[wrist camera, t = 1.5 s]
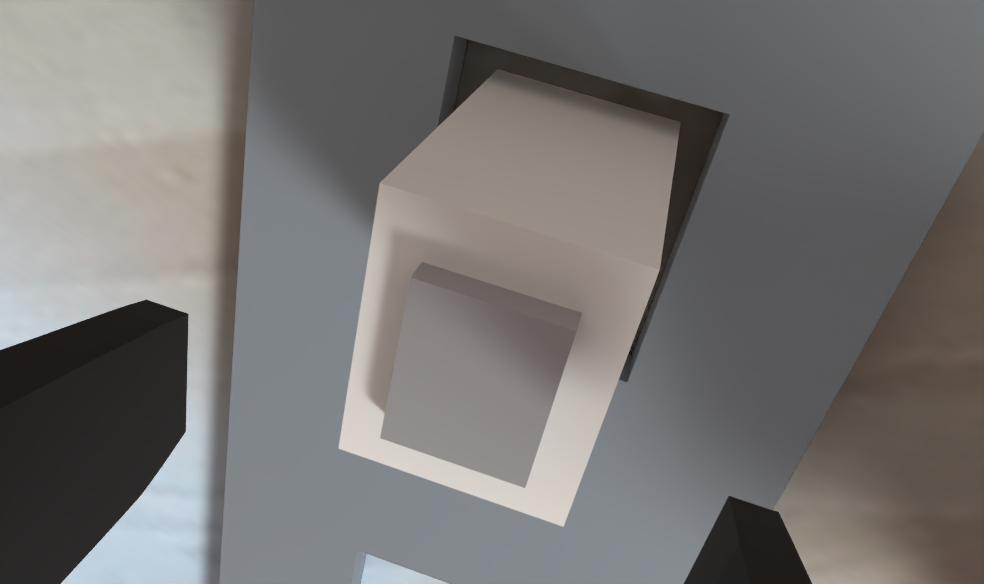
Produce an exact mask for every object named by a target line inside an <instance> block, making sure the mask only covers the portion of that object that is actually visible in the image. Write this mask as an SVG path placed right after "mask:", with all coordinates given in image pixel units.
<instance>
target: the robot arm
mask: <svg viewBox="0 0 984 584" xmlns="http://www.w3.org/2000/svg"><path fill="white" fill-rule="evenodd" d="M187 349H188V314H187V313H184V312H181V311H178V310H175V309H172V308H169V307H166V306H163V305H160V304H157V303H154V302H151V301H148V300H144V301H141V302H137V303H134V304H131V305H127V306H124V307H121V308H118V309H115V310H112V311H109V312H107V313H104V314H101V315H98V316H95V317H92V318H90V319H87V320H84V321H81V322H78V323H76V324H73V325H70V326H67V327H64V328H62V329H59V330H56V331H53V332H51V333H48V334H45V335H42V336H39V337H37V338H34V339H31V340H28V341H25V342H22V343H20V344H17V345H14V346H11V347H8V348H5V349H3V350H0V584H61V582H62V581H63V580H64V579H65V578H66V577H67V576H68V575H69V574H70V573H71V572H72V571H73V569H74V568H75V567H76V566H77V565H78V564H79V563H80V562H81V561H82V560H83V559H84V558H85V556H86V555H87V554H88V553H89V552H90V551H91V550H92V549H93V548H94V547H95V546H96V544H97V543H98V542H99V541H100V540H101V539H102V538H103V537H104V536H105V535H106V533H107V532H108V531H109V530H110V529H111V528H112V527H113V526H114V525H115V524H116V522H117V521H118V520H119V519H120V518H121V517H122V516H123V515H124V514H125V512H126V511H127V510H128V509H129V508H130V507H131V506H132V505H133V504H134V502H135V501H136V500H137V499H138V498H139V497H140V496H141V494H142V493H143V492H144V490H145V489H146V488H147V486H148V485H149V484H150V482H151V481H152V479H153V478H154V477H155V475H156V474H157V473H158V471H159V470H160V468H161V467H162V466H163V464H164V463H165V461H166V460H167V458H168V457H169V455H170V454H171V452H172V451H173V449H174V448H175V446H176V445H177V444H178V442H179V441H180V439H181V438H182V436H183V435H184V433H185V432H186V392H187ZM684 584H812V582H811V580H810V578H809V576H808V574H807V572H806V570H805V567H804V565H803V563H802V561H801V559H800V557H799V554H798V552H797V550H796V548H795V546H794V544H793V541H792V539H791V537H790V535H789V533H788V531H787V529H786V527H785V525H784V523H783V520H782V518H781V516H780V514H779V512H776V511H773V510H770V509H767V508H764V507H761V506H758V505H755V504H752V503H749V502H746V501H743V500H740V499H737V498H734V497H731V496H728V498H727V500H726V502H725V504H724V506H723V508H722V510H721V512H720V514H719V516H718V518H717V520H716V522H715V524H714V526H713V528H712V529H711V531H710V533H709V535H708V537H707V539H706V541H705V543H704V545H703V547H702V549H701V551H700V553H699V555H698V557H697V559H696V561H695V563H694V565H693V567H692V568H691V570H690V572H689V574H688V576H687V578H686V580H685V582H684Z"/></svg>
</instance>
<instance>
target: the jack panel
mask: <svg viewBox="0 0 984 584" xmlns="http://www.w3.org/2000/svg"><path fill="white" fill-rule="evenodd" d="M468 40H472V41H475V42H479V43H482V44H486V45H489V46H493V47H496V48H500V49H503V50H507V51H510V52H514V53H517V54H521V55H524V56H528V57H531V58H535V59H538V60H541V61H545V62H548V63H552V64H555V65H559V66H562V67H566V68H569V69H573V70H576V71H580V72H583V73H587V74H590V75H594V76H597V77H601V78H604V79H608V80H611V81H615V82H618V83H622V84H625V85H629V86H632V87H635V88H639V89H642V90H646V91H649V92H653V93H656V94H660V95H663V96H667V97H670V98H674V99H677V100H681V101H684V102H688V103H691V104H695V105H698V106H702V107H705V108H709V109H712V110H716V111H719V112H723V116H722V119H721V121H720V124H719V127H718V129H717V132H716V135H715V137H714V140H713V142H712V145H711V148H710V150H709V153H708V156H707V158H706V161H705V164H704V166H703V169H702V172H701V174H700V177H699V179H698V182H697V185H696V187H695V190H694V193H693V195H692V198H691V201H690V203H689V206H688V209H687V211H686V214H685V216H684V219H683V222H682V224H681V227H680V230H679V232H678V235H677V238H676V240H675V243H674V246H673V248H672V251H671V254H670V256H669V259H668V261H667V264H666V267H665V269H664V272H663V275H662V277H661V280H660V283H659V285H658V288H657V291H656V293H655V296H654V298H653V301H652V304H651V306H650V309H649V312H648V314H647V317H646V320H645V322H644V325H643V328H642V330H641V333H640V335H639V338H638V341H637V343H636V346H635V349H634V351H633V354H632V355H631V354H628V356H627V359H626V361H625V364H624V367H623V369H622V372H621V375H620V377H619V380H618V383H617V385H616V388H615V391H614V393H613V396H612V399H611V401H610V404H609V407H608V409H607V412H606V415H605V417H604V420H603V423H602V425H601V428H600V431H599V433H598V436H597V439H596V441H595V444H594V447H593V449H592V452H591V455H590V457H589V460H588V463H587V465H586V468H585V471H584V473H583V476H582V479H581V482H580V484H579V487H578V490H577V492H576V495H575V498H574V500H573V503H572V506H571V508H570V511H569V514H568V516H567V519H566V522H565V524H564V527H562V526H560V525H557V524H554V523H551V522H548V521H545V520H542V519H539V518H537V517H534V516H531V515H528V514H525V513H522V512H519V511H516V510H514V509H511V508H508V507H505V506H502V505H499V504H496V503H493V502H491V501H488V500H485V499H482V498H479V497H476V496H473V495H470V494H468V493H465V492H462V491H459V490H456V489H453V488H450V487H447V486H445V485H442V484H439V483H436V482H433V481H430V480H427V479H424V478H422V477H419V476H416V475H413V474H410V473H407V472H404V471H401V470H399V469H396V468H393V467H390V466H387V465H384V464H381V463H379V462H376V461H373V460H370V459H367V458H364V457H361V456H358V455H356V454H353V453H350V452H347V451H344V450H341V449H338V448H339V441H340V435H341V428H342V422H343V416H344V409H345V403H346V396H347V390H348V383H349V377H350V371H351V364H352V358H353V351H354V345H355V338H356V332H357V326H358V319H359V313H360V306H361V300H362V294H363V287H364V281H365V274H366V268H367V261H368V255H369V249H370V242H371V236H372V229H373V223H374V216H375V210H376V204H377V197H378V191H379V184H380V182H381V181H382V180H383V179H384V178H385V177H386V176H387V175H388V174H389V173H391V172H392V171H393V170H394V169H395V168H396V167H397V166H398V165H399V164H400V163H401V162H402V161H403V160H404V159H405V158H406V157H407V156H408V155H409V154H410V153H411V152H412V151H413V150H414V149H415V148H416V147H418V146H419V145H420V144H421V143H422V142H423V141H424V140H425V139H426V138H427V137H428V136H429V135H430V134H431V133H432V132H433V131H434V130H435V129H436V128H437V127H438V126H439V125H440V124H441V123H442V122H443V121H445V120H446V119H447V118H448V117H449V116H450V115H451V114H452V113H453V112H454V107H455V102H456V97H457V92H458V87H459V82H460V77H461V72H462V67H463V62H464V57H465V52H466V47H467V42H468ZM983 133H984V0H254V7H253V24H252V41H251V57H250V74H249V91H248V108H247V124H246V141H245V158H244V174H243V191H242V208H241V225H240V241H239V258H238V275H237V292H236V308H235V325H234V342H233V358H232V375H231V392H230V409H229V425H228V442H227V459H226V475H225V492H224V509H223V526H222V542H221V559H220V576H219V584H360V583H361V578H362V573H363V568H364V563H365V558H366V553H367V554H369V555H372V556H375V557H378V558H380V559H383V560H386V561H389V562H391V563H394V564H397V565H400V566H403V567H405V568H408V569H411V570H414V571H416V572H419V573H422V574H425V575H427V576H430V577H433V578H436V579H438V580H441V581H444V582H447V583H449V584H684V582H685V580H686V578H687V576H688V574H689V572H690V570H691V568H692V567H693V565H694V563H695V561H696V559H697V557H698V555H699V553H700V551H701V549H702V547H703V545H704V543H705V541H706V539H707V537H708V535H709V533H710V531H711V529H712V528H713V526H714V524H715V522H716V520H717V518H718V516H719V514H720V512H721V510H722V508H723V506H724V504H725V502H726V500H727V498H728V496H731V497H734V498H737V499H740V500H743V501H746V502H749V503H752V504H755V505H758V506H761V507H764V508H767V509H770V510H773V508H774V506H775V505H776V503H777V501H778V499H779V497H780V496H781V494H782V492H783V490H784V488H785V487H786V485H787V483H788V481H789V480H790V478H791V476H792V474H793V472H794V471H795V469H796V467H797V465H798V463H799V462H800V460H801V458H802V456H803V454H804V453H805V451H806V449H807V447H808V446H809V444H810V442H811V440H812V438H813V437H814V435H815V433H816V431H817V429H818V428H819V426H820V424H821V422H822V421H823V419H824V417H825V415H826V413H827V412H828V410H829V408H830V406H831V404H832V403H833V401H834V399H835V397H836V395H837V394H838V392H839V390H840V388H841V387H842V385H843V383H844V381H845V379H846V378H847V376H848V374H849V372H850V370H851V369H852V367H853V365H854V363H855V361H856V360H857V358H858V356H859V354H860V353H861V351H862V349H863V347H864V345H865V344H866V342H867V340H868V338H869V336H870V335H871V333H872V331H873V329H874V328H875V326H876V324H877V322H878V320H879V319H880V317H881V315H882V313H883V311H884V310H885V308H886V306H887V304H888V302H889V301H890V299H891V297H892V295H893V294H894V292H895V290H896V288H897V286H898V285H899V283H900V281H901V279H902V277H903V276H904V274H905V272H906V270H907V268H908V267H909V265H910V263H911V261H912V260H913V258H914V256H915V254H916V252H917V251H918V249H919V247H920V245H921V243H922V242H923V240H924V238H925V236H926V234H927V233H928V231H929V229H930V227H931V226H932V224H933V222H934V220H935V218H936V217H937V215H938V213H939V211H940V209H941V208H942V206H943V204H944V202H945V201H946V199H947V197H948V195H949V193H950V192H951V190H952V188H953V186H954V184H955V183H956V181H957V179H958V177H959V175H960V174H961V172H962V170H963V168H964V167H965V165H966V163H967V161H968V159H969V158H970V156H971V154H972V152H973V150H974V149H975V147H976V145H977V143H978V141H979V140H980V138H981V136H982V134H983Z"/></svg>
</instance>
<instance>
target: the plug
mask: <svg viewBox="0 0 984 584" xmlns="http://www.w3.org/2000/svg"><path fill="white" fill-rule="evenodd" d="M680 124H681V122H678V121H675V120H671V119H668V118H664V117H661V116H658V115H654V114H651V113H647V112H644V111H640V110H637V109H633V108H630V107H627V106H623V105H620V104H616V103H613V102H609V101H606V100H602V99H599V98H596V97H592V96H589V95H585V94H582V93H578V92H575V91H571V90H568V89H564V88H561V87H558V86H554V85H551V84H547V83H544V82H540V81H537V80H533V79H530V78H527V77H523V76H520V75H516V74H513V73H509V72H506V71H502V70H499V69H497V70H496V71H495V72H494V73H493V74H492V75H491V76H490V77H489V78H488V79H487V80H486V81H485V82H484V83H483V84H482V85H481V86H480V87H479V88H478V89H477V90H476V91H475V92H474V93H473V94H471V95H470V96H469V97H468V98H467V99H466V100H465V101H464V102H463V103H462V104H461V105H460V106H459V107H458V108H457V109H456V110H455V111H454V112H453V113H452V114H451V115H450V116H449V117H448V118H447V119H446V120H445V121H443V122H442V123H441V124H440V125H439V126H438V127H437V128H436V129H435V130H434V131H433V132H432V133H431V134H430V135H429V136H428V137H427V138H426V139H425V140H424V141H423V142H422V143H421V144H420V145H419V146H418V147H416V148H415V149H414V150H413V151H412V152H411V153H410V154H409V155H408V156H407V157H406V158H405V159H404V160H403V161H402V162H401V163H400V164H399V165H398V166H397V167H396V168H395V169H394V170H393V171H392V172H391V173H389V174H388V175H387V176H386V177H385V178H384V179H383V180H382V181H381V182H380V184H379V191H378V197H377V204H376V210H375V216H374V223H373V229H372V236H371V242H370V249H369V255H368V261H367V268H366V274H365V281H364V287H363V294H362V300H361V306H360V313H359V319H358V326H357V332H356V338H355V345H354V351H353V358H352V364H351V371H350V377H349V383H348V390H347V396H346V403H345V409H344V416H343V422H342V428H341V435H340V441H339V448H338V449H341V450H344V451H347V452H350V453H353V454H356V455H358V456H361V457H364V458H367V459H370V460H373V461H376V462H379V463H381V464H384V465H387V466H390V467H393V468H396V469H399V470H401V471H404V472H407V473H410V474H413V475H416V476H419V477H422V478H424V479H427V480H430V481H433V482H436V483H439V484H442V485H445V486H447V487H450V488H453V489H456V490H459V491H462V492H465V493H468V494H470V495H473V496H476V497H479V498H482V499H485V500H488V501H491V502H493V503H496V504H499V505H502V506H505V507H508V508H511V509H514V510H516V511H519V512H522V513H525V514H528V515H531V516H534V517H537V518H539V519H542V520H545V521H548V522H551V523H554V524H557V525H560V526H562V527H564V524H565V522H566V519H567V516H568V514H569V511H570V508H571V506H572V503H573V500H574V498H575V495H576V492H577V490H578V487H579V484H580V482H581V479H582V476H583V473H584V471H585V468H586V465H587V463H588V460H589V457H590V455H591V452H592V449H593V447H594V444H595V441H596V439H597V436H598V433H599V431H600V428H601V425H602V423H603V420H604V417H605V415H606V412H607V409H608V407H609V404H610V401H611V399H612V396H613V393H614V391H615V388H616V385H617V383H618V380H619V377H620V375H621V372H622V369H623V367H624V364H625V361H626V359H627V356H628V353H629V351H630V348H631V345H632V343H633V340H634V337H635V335H636V332H637V329H638V327H639V324H640V321H641V319H642V316H643V313H644V311H645V308H646V305H647V303H648V300H649V297H650V295H651V292H652V289H653V287H654V284H655V281H656V279H657V276H658V273H659V271H660V265H661V258H662V251H663V244H664V237H665V230H666V223H667V216H668V209H669V202H670V195H671V187H672V180H673V173H674V166H675V159H676V152H677V145H678V138H679V131H680Z"/></svg>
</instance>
